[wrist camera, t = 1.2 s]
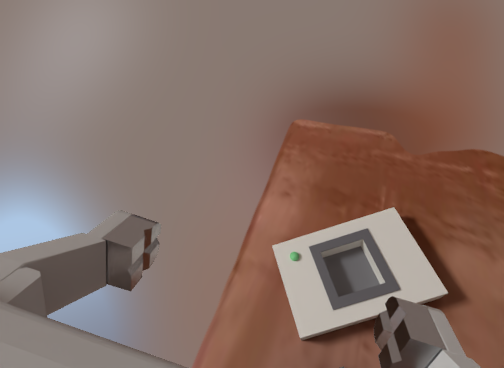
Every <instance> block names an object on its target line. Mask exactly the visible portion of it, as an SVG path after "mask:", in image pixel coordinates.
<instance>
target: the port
mask: <svg viewBox="0 0 504 368" xmlns="http://www.w3.org/2000/svg"><path fill="white" fill-rule="evenodd" d="M272 247H273V250H274V253H275V257H276V260H277V263H278V267H279V270H280V273H281V276H282V280H283V283H284V286H285V290H286V293H287V296H288V300H289V303H290V306H291V309H292V313H293V316H294V319H295V323H296V326H297V329H298V332H299V336H300V339H301V340H305V339H308V338H311V337H314V336H318V335H321V334H324V333H328V332H331V331H334V330H337V329H341V328H344V327H347V326H351V325H354V324H357V323H360V322H364V321H367V320H370V319H374V318H377V317H378V315H379V313H381V312H383V311H386V310H387V309H386V305H385V303H386V302H387V300H388V298H390V297H391V296H394V297H398V298H401V299H404V300H407V301H411V302H414V303H417V304H423V303H426V302H429V301H433V300H436V299H439V298H441V297H443V296H444V295H446V294H448V292H447V290H446V288H445V287H444V285H443V284H442V282H441V281H440V279H439V277H438V276H437V274H436V273H435V271H434V269H433V268H432V266H431V265H430V263H429V262H428V260H427V258H426V257H425V255H424V254H423V252H422V251H421V249H420V247H419V246H418V244H417V243H416V241H415V239H414V238H413V236H412V235H411V233H410V232H409V230H408V228H407V227H406V225H405V224H404V222H403V221H402V219H401V217H400V216H399V214H398V213H397V211H396V209H395V208H394V207H393V208H390V209H387V210H384V211H381V212H378V213H374V214H371V215H368V216H365V217H362V218H359V219H355V220H352V221H349V222H346V223H343V224H340V225H336V226H333V227H330V228H327V229H324V230H321V231H317V232H314V233H311V234H308V235H305V236H302V237H298V238H295V239H292V240H289V241H286V242H283V243H279V244H276V245H273V246H272Z"/></svg>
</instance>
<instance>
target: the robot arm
mask: <svg viewBox="0 0 504 368" xmlns="http://www.w3.org/2000/svg"><path fill="white" fill-rule="evenodd" d="M160 230H161V225H160V224H159V223H158V222H155V221H152V220H149V219H146V218H143V217H140V216H137V215H134V214H131V213H128V212H125V211H122V210H121V211H116V212H115V213H114V214H112V215H111V216H110V217H108V218H107V219H106V220H105V221H103V222H102V223H101V224H99V225H98V226H97V227H95V228H94V229H93V230H91V231H90V232H89V233H88V234H84V233H80V234H76V235H72V236H68V237H64V238H60V239H56V240H52V241H48V242H44V243H40V244H36V245H32V246H28V247H24V248H20V249H15V250H11V251H8V252H3V253H0V368H187V367H184V366H181V365H179V364H176V363H173V362H170V361H167V360H165V359H162V358H159V357H156V356H153V355H151V354H148V353H145V352H142V351H139V350H136V349H133V348H131V347H128V346H125V345H122V344H120V343H117V342H114V341H111V340H108V339H106V338H103V337H100V336H97V335H94V334H92V333H89V332H86V331H83V330H80V329H78V328H75V327H72V326H69V325H66V324H63V323H61V322H58V321H55V320H52V319H50V318H47V315H49V314H51V313H53V312H55V311H57V310H58V309H61V308H63V307H64V306H66V305H68V304H70V303H72V302H74V301H76V300H78V299H80V298H82V297H84V296H86V295H88V294H90V293H92V292H94V291H96V290H98V289H100V288H102V287H104V286H106V284H108V285H112V286H115V287H118V288H121V289H125V290H128V291H131V290H132V289H133V288H134V287H135V285H136V284H137V283H138V282H139V280H140V279H141V278H142V271H143V270H146V269H148V268H150V266H151V265H152V264H153V262H154V260H155V258H156V256H157V253H158V250H159V241H158V240H157V238H156V237H157V236H158V235H159V234H160ZM385 305H386V309H387V310H386V311H383V312H381V313H379V315H378V317H377V319H376V321H375V325H374V338H375V343H376V344H377V345H378V346H379V348H380V349H381V350H382V351H381V352H380V354H379V355H378V357H379V361H380V365H381V368H481V367H480V366H479V365H478V364H477V363H476V362H475V361H474V360H473V359H470V358H468V357H466V355H465V353H464V351H463V349H462V347H461V345H460V344H459V342H458V340H457V338H456V336H455V334H454V332H453V330H452V328H451V326H450V324H449V322H448V320H447V318H446V316H445V315H444V313H443V312H442V311H441V310H439V309H436V308H432V307H429V306H425V305H420V304H417V303H414V302H411V301H407V300H404V299H401V298H398V297H394V296H391V297H390V298H388V300H387V302H386V303H385Z"/></svg>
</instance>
